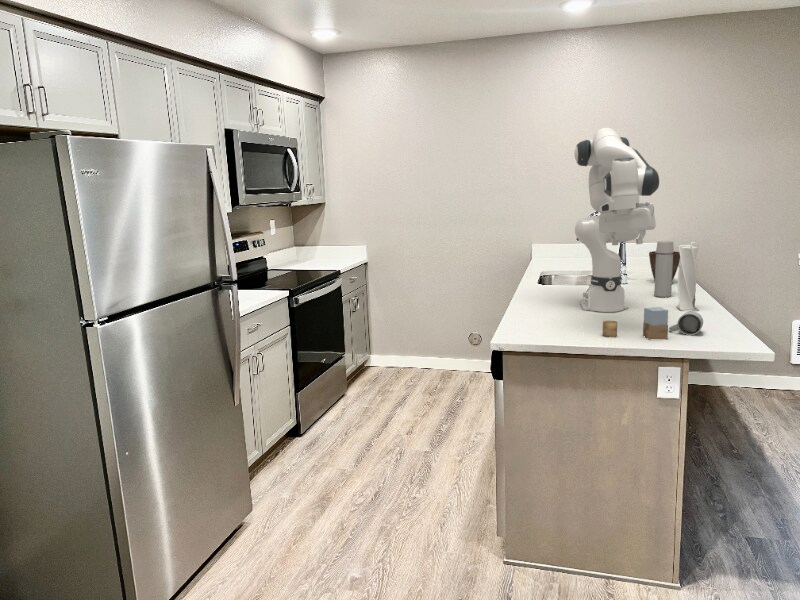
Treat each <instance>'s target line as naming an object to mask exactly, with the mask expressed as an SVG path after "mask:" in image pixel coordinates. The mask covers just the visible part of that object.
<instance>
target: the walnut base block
mask: <svg viewBox="0 0 800 600" xmlns="http://www.w3.org/2000/svg"><path fill="white" fill-rule="evenodd" d="M642 325H643V326H642V336H643V337H644V336H645V337H644V338H646V339H647V338H648V339H647V340H649V339H665V340H668V334H669V324H668V325H655V326H652V325H649V324H647V323H644V321H642Z"/></svg>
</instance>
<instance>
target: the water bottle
mask: <svg viewBox="0 0 800 600" xmlns="http://www.w3.org/2000/svg"><path fill="white" fill-rule="evenodd" d="M655 251H657V252H655V253H657V254H656V267H655V280H654V294H653V295H654V297H656V298H661V297H664V299H665V297H667V298H670V297H671V296H672V288H673V287H672V284H673V281H672V268H673V254H672V253H673V251H675V250H674V241H671V240H661V241H660V240H659V241H656V249H655Z"/></svg>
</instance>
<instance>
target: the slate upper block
mask: <svg viewBox="0 0 800 600" xmlns="http://www.w3.org/2000/svg"><path fill="white" fill-rule="evenodd" d="M643 322H644V323H647V324H649V325H652V326H655V325H668V326H669V324H668V323H669V309H666V308H664V307H660V306H656V307H655V306H653V307H644V308H643Z"/></svg>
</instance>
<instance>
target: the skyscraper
mask: <svg viewBox="0 0 800 600" xmlns="http://www.w3.org/2000/svg"><path fill="white" fill-rule="evenodd" d="M693 244H695V245H696V246H694V245H693ZM699 249H700V246H699V244H698V243H697V242H696V241H691V242H690V244H681V245H679V246H678V252H680V261H679V265H678V273H677V294H678V296H677V297H678V304H677V306H676V307H677V308H678V310H679V309H680V310H699V309H698V308H697V307H696V305H695V304H696V288H697V279H698V278H697V274H698V273H697V272H698V271H697V264H696V258H697V254H698V252H699ZM677 308H676V309H677ZM680 310H679V311H680Z"/></svg>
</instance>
